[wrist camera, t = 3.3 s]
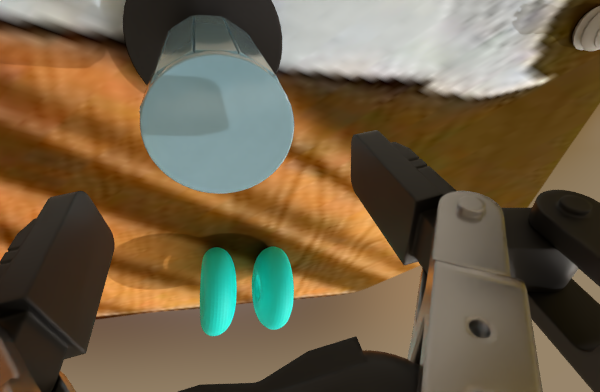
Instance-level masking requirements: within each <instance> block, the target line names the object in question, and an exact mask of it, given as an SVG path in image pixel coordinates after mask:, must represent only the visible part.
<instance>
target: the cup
mask: <svg viewBox="0 0 600 392" xmlns="http://www.w3.org/2000/svg"><path fill="white" fill-rule="evenodd" d="M140 129H141V136H142V139H143V142H144V145H145V147H146V150H147V152H148V154H149V155H150V157H151V158H152V160H153V161H154V163H155V164H156V165H157V166H158V167H159V168H160V169H161V170H162V171H163V172H164V173H165V174H166V175H167V176H169V177H170V178H171V179H173V180H174V181H176V182H178V183H180V184H181V185H183V186H186V187H188V188H191V189H194V190H197V191H201V192H207V193H232V192H237V191H241V190H245V189H248V188H250V187H253V186H255V185H257V184H259V183H260V182H262V181H264V180H265V179H267V178H268V177H269V176H270V175H272V174H273V173H274V172H275V171H276V170H277V169H278V167H279V166H280V165H281V164H282V162H283V161H284V159H285V157H286V156H287V154H288V151H289V149H290V147H291V143H292V140H293V134H294V117H293V111H292V108H291V104H290V102H289V99H288V97H287V95H286V93H285V92H284V90H283V88H282V86H281V84H280V82H279V81H278V79H277V77H276V75H275V73H274V72H273V70H272V69H271V67H270V66H269V64H268V63H267V62H266V60H265V59H264V57H263V56H262V54H261V53H260V51H259V50H258V48H257V47H256V45H255V44H254V42H253V41H252V39H251V38H250V36H249V35H248V34H247V33H246V32H245V31H244V30H242V29H241V28H239V27H238V26H236V25H235V24H233V23H232V22H230V21H229V20H228V19H226V18H225V17H224V18H222V16H208V15H194V16H193V15H192V16H190V17H189V18H187V19H185V20H184V21H182V22H181V23H179V24H177V25H176V26H174V27H172V28H171V29H170V31H168V33H167V35H166V38H165V40H164V43H163V45H162V47H161V50H160V52H159V54H158V57H157V60H156V63H155V66H154V69H153V72H152V74H151V77H150V80H149V83H148V86H147V89H146V91H145V94H144V97H143V100H142V103H141V106H140Z"/></svg>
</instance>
